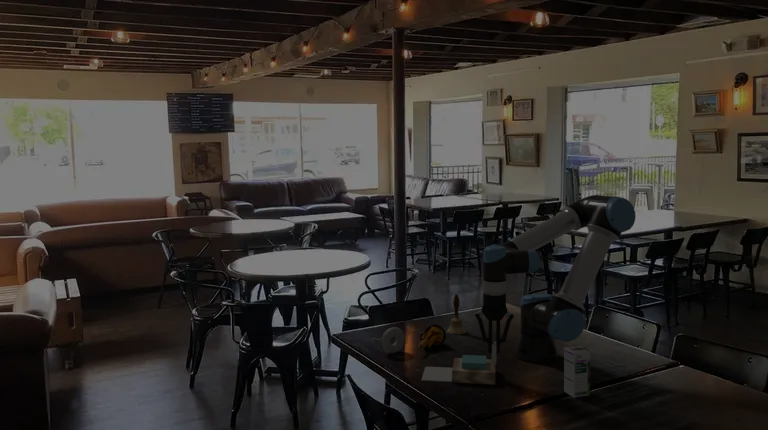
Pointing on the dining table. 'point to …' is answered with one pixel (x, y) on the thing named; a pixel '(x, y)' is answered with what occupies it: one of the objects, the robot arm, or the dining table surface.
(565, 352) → the syrup box
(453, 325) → the hand bell
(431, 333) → the fried shrimp in bowl
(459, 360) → the serving board
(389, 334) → the donut
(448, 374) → the mat
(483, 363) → the teal block
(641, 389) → the dining table surface
